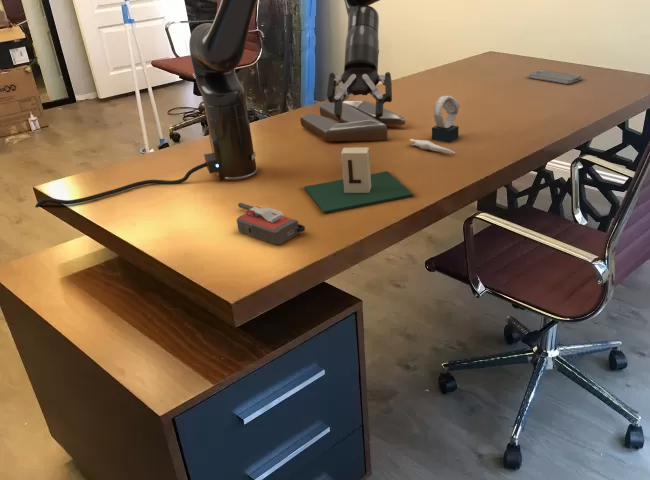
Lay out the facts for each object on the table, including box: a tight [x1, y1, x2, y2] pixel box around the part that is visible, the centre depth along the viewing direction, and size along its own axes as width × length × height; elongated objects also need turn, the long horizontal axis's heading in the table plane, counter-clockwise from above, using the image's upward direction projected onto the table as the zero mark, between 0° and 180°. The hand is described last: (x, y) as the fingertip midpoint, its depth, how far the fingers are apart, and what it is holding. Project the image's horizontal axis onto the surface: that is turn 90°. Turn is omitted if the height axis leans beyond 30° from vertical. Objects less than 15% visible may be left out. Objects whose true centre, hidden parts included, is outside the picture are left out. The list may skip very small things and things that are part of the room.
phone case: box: [528, 69, 582, 85], centre depth 221 cm, size 8×16×1 cm, turn 47°
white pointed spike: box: [409, 138, 456, 155], centre depth 164 cm, size 15×3×2 cm, turn 47°
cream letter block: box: [340, 147, 372, 193], centre depth 141 cm, size 6×4×9 cm
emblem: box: [299, 100, 406, 142], centre depth 181 cm, size 28×5×28 cm
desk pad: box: [304, 171, 414, 215], centre depth 144 cm, size 20×15×1 cm
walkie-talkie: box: [236, 202, 306, 246], centre depth 129 cm, size 9×4×20 cm
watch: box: [431, 95, 461, 143], centre depth 170 cm, size 6×8×11 cm
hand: (358, 117), depth 143 cm, fingers open, 8 cm apart
